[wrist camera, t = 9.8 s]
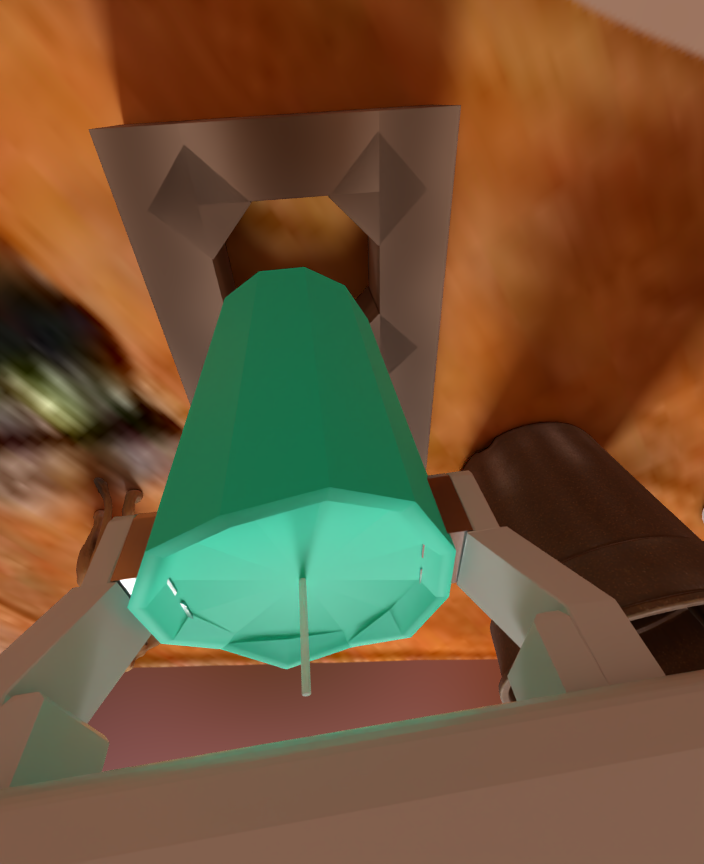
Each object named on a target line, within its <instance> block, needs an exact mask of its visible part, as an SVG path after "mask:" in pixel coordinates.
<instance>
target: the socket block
mask: <svg viewBox="0 0 704 864" xmlns="http://www.w3.org/2000/svg"><path fill="white" fill-rule="evenodd" d="M460 109H461V105H421V106H405V107H389V108H374V109H358V110H343V111H327V112H311V113H296V114H280V115H265V116H249V117H233V118H218V119H202V120H187V121H171V122H155V123H140V124H124V125H117V126H110V127H102V128H95V129H89V132H90V135H91V137H92V140H93V143H94V145H95V148H96V151H97V153H98V156H99V159H100V162H101V164H102V167H103V170H104V172H105V175H106V178H107V181H108V183H109V186H110V189H111V191H112V194H113V197H114V199H115V202H116V205H117V208H118V210H119V213H120V216H121V218H122V221H123V224H124V226H125V229H126V232H127V235H128V237H129V240H130V243H131V245H132V248H133V251H134V254H135V256H136V259H137V262H138V264H139V267H140V270H141V272H142V275H143V278H144V281H145V283H146V286H147V289H148V291H149V294H150V297H151V299H152V302H153V305H154V308H155V310H156V313H157V316H158V318H159V321H160V324H161V327H162V329H163V332H164V335H165V337H166V340H167V343H168V345H169V348H170V351H171V354H172V356H173V359H174V362H175V364H176V367H177V370H178V373H179V375H180V378H181V381H182V383H183V386H184V389H185V391H186V394H187V397H188V400H189V402H190V405H191V404H192V400H193V397H194V394H195V391H196V388H197V385H198V381H199V378H200V375H201V372H202V369H203V366H204V362H205V359H206V356H207V353H208V350H209V347H210V343H211V340H212V337H213V334H214V331H215V328H216V324H217V321H218V318H219V315H220V312H221V309H222V305H223V302H224V299H225V297H227V296H228V295H229V294H230V293H232V292H233V291H234V290H236V288H235V284H234V279H233V275H232V271H231V266H230V262H229V258H228V253H227V249H226V245H225V241H226V240H227V238H228V237H229V235H230V234H231V232H232V231H233V229H234V228H235V226H236V225H237V223H238V222H239V220H240V219H241V217H242V216H243V214H244V213H245V211H246V210H247V208H248V207H249V205H250V204H251V202H252V201H263V200H276V199H289V198H302V197H315V196H329V198H330V199H331V200H332V201H333V202H334V203H335V204H336V205H337V206H339V207H340V208H341V209H342V210H343V211H344V212H345V213H346V214H347V215H348V216H349V217H350V218H351V219H352V220H353V221H354V222H355V223H356V224H357V225H358V226H359V227H360V228H361V229H362V230H363V231H364V232H365V233H366V234H367V235H368V278H369V287H367V288H366V289H365V290H364V291H363V292H362V293H361V294H360V296H359V297H358V298H357V299H356V300H355V301H356V302H357V304H358V305H359V307H360V308H361V310H362V311H363V313H364V314H365V316H366V317H367V319H368V321H369V324H370V326H371V329H372V331H373V334H374V337H375V339H376V342H377V345H378V347H379V350H380V352H381V355H382V358H383V360H384V363H385V366H386V368H387V371H388V373H389V376H390V379H391V381H392V384H393V386H394V389H395V392H396V394H397V397H398V400H399V402H400V405H401V407H402V410H403V413H404V415H405V418H406V421H407V423H408V426H409V428H410V431H411V434H412V436H413V439H414V441H415V444H416V447H417V449H418V452H419V455H420V457H421V460H422V462H423V465H424V468H425V470H426V465H427V455H428V444H429V434H430V423H431V413H432V402H433V392H434V382H435V371H436V361H437V350H438V340H439V329H440V319H441V308H442V298H443V287H444V277H445V266H446V256H447V245H448V235H449V224H450V214H451V203H452V193H453V182H454V172H455V161H456V151H457V141H458V130H459V120H460Z"/></svg>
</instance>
